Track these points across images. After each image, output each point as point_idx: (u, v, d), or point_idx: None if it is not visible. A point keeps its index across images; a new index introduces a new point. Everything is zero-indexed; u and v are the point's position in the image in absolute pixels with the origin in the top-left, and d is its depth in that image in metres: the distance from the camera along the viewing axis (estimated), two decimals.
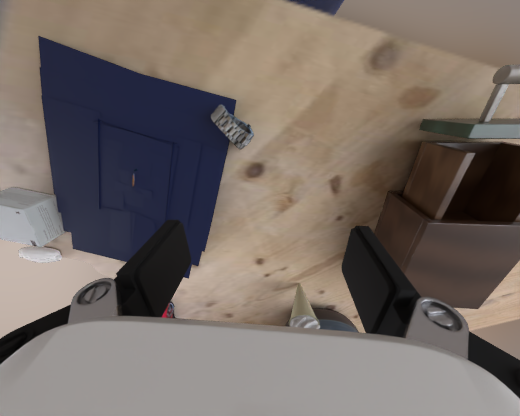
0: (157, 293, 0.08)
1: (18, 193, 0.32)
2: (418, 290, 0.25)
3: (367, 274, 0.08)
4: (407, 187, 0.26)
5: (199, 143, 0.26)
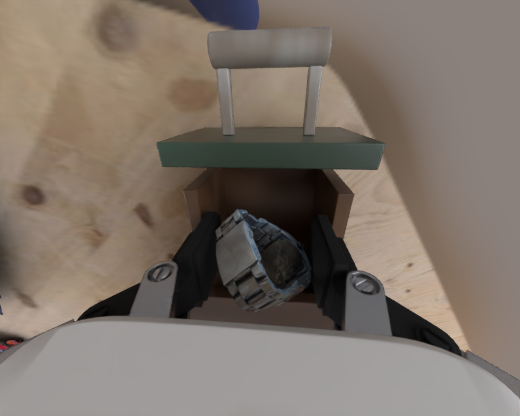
0: (205, 277, 0.09)
1: None
2: None
3: (318, 255, 0.09)
4: None
5: None
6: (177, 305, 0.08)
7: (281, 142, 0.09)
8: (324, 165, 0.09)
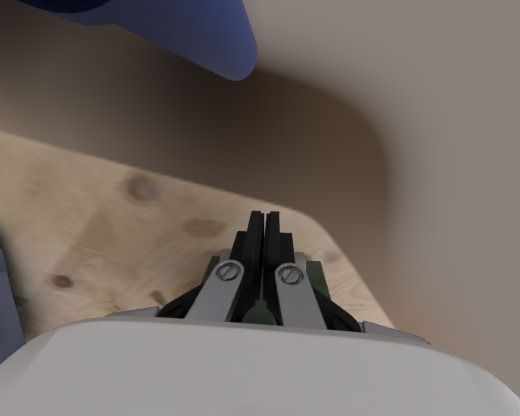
0: (259, 276, 0.09)
1: None
2: None
3: None
4: None
5: None
6: (235, 308, 0.07)
7: None
8: None
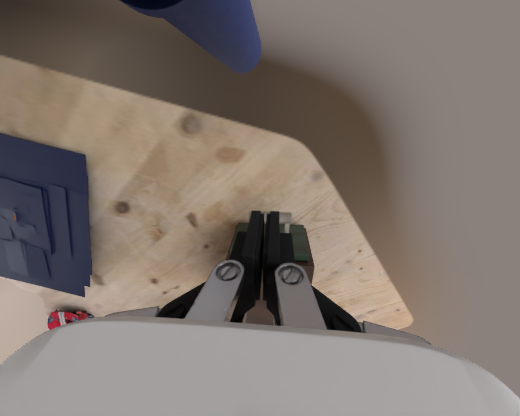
0: (259, 276, 0.09)
1: None
2: (248, 313, 0.30)
3: None
4: None
5: (63, 188, 0.30)
6: (235, 308, 0.07)
7: None
8: None
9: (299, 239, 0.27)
